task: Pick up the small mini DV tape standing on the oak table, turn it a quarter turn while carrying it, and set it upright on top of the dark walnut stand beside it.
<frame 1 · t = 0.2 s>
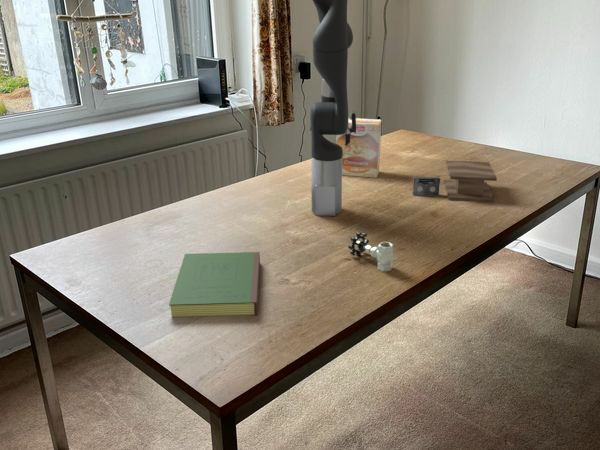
hand: (333, 144, 189), 17 cm above the table, tool pointing down, fingers open, 8 cm apart
valve: (373, 263, 152), on the table
mini dv tape: (425, 195, 196), on the table
stand: (467, 191, 198), on the table
coffeecake box: (357, 174, 216), on the table
hardcover book: (219, 290, 142), on the table
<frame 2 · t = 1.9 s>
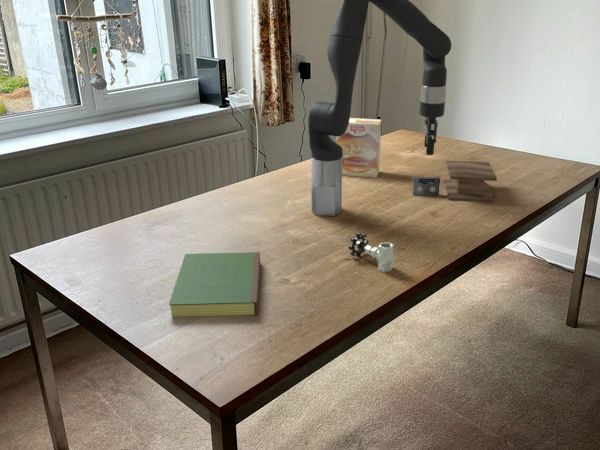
hand: (428, 150, 190), 15 cm above the table, tool pointing down, fingers open, 8 cm apart
nothing on the table moved.
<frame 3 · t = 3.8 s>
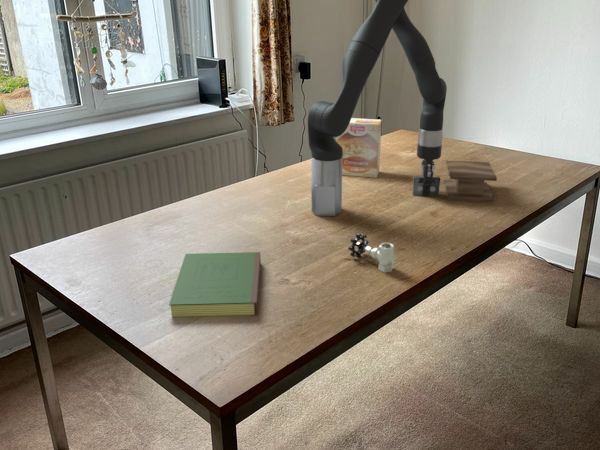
hand: (425, 193, 196), 0 cm above the table, tool pointing down, fingers closed on mini dv tape, 1 cm apart
mini dv tape: (425, 195, 196), on the table, touching gripper
everything else where it was.
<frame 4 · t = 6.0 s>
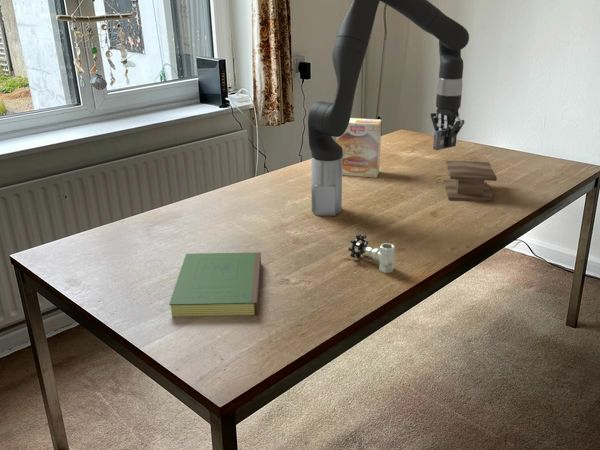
hand: (444, 146, 192), 16 cm above the table, tool pointing down, fingers closed on mini dv tape, 1 cm apart
mini dv tape: (444, 148, 192), point 15 cm above the table, touching gripper
everything else where it was.
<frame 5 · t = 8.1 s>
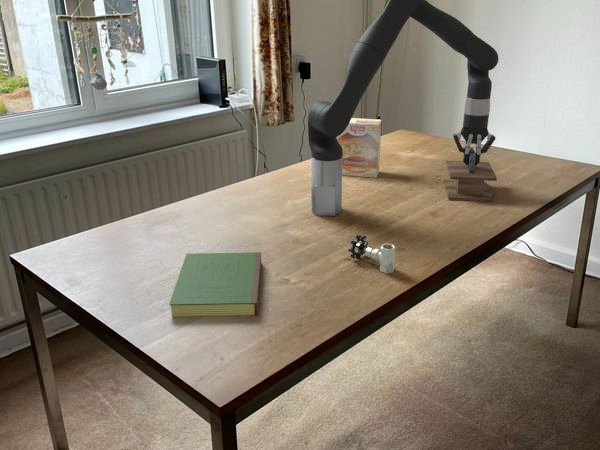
hand: (470, 164, 194), 10 cm above the table, tool pointing down, fingers closed
mini dv tape: (470, 169, 194), point 8 cm above the table, touching stand
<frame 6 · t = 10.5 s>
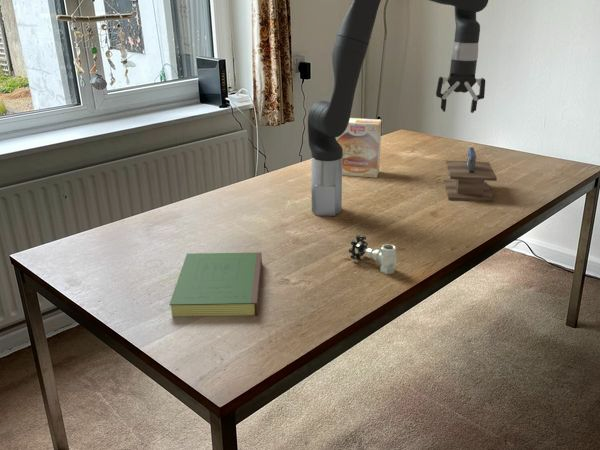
hand: (457, 111, 185), 27 cm above the table, tool pointing down, fingers open, 8 cm apart
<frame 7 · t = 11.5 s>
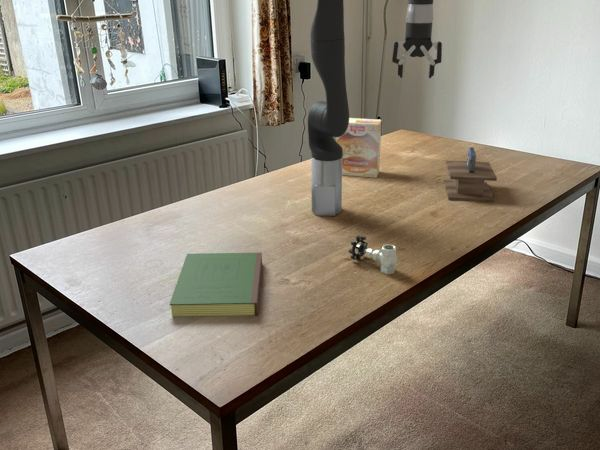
hand: (415, 77, 179), 38 cm above the table, tool pointing down, fingers open, 8 cm apart
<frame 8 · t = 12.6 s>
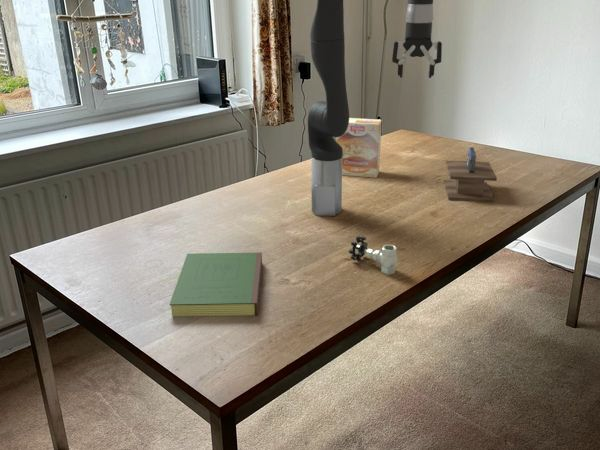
hand: (415, 77, 179), 38 cm above the table, tool pointing down, fingers open, 8 cm apart
at the end: mini dv tape inside the target area on the stand (0.1 cm from its centre), point 7.8 cm above the stand's base; mini dv tape tilted 0°; the gripper is holding nothing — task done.
